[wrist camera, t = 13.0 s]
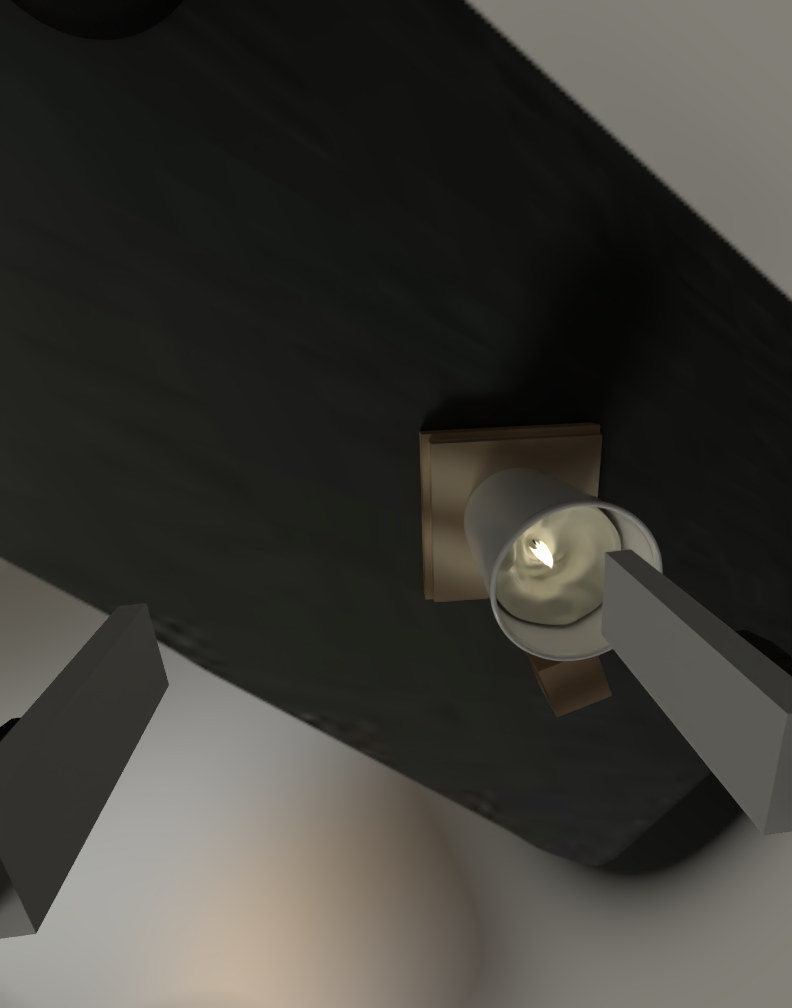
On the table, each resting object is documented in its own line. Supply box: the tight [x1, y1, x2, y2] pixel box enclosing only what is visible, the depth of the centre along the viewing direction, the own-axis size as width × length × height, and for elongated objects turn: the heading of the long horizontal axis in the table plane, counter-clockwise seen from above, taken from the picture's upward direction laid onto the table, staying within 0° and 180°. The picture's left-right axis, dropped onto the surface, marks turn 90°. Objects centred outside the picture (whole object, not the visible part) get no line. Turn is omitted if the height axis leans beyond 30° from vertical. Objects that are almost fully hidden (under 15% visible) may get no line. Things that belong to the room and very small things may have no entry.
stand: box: [420, 422, 602, 602], centre depth 41 cm, size 14×14×3 cm
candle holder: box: [464, 467, 662, 661], centre depth 34 cm, size 10×10×12 cm
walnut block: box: [526, 652, 612, 717], centre depth 45 cm, size 5×5×5 cm
